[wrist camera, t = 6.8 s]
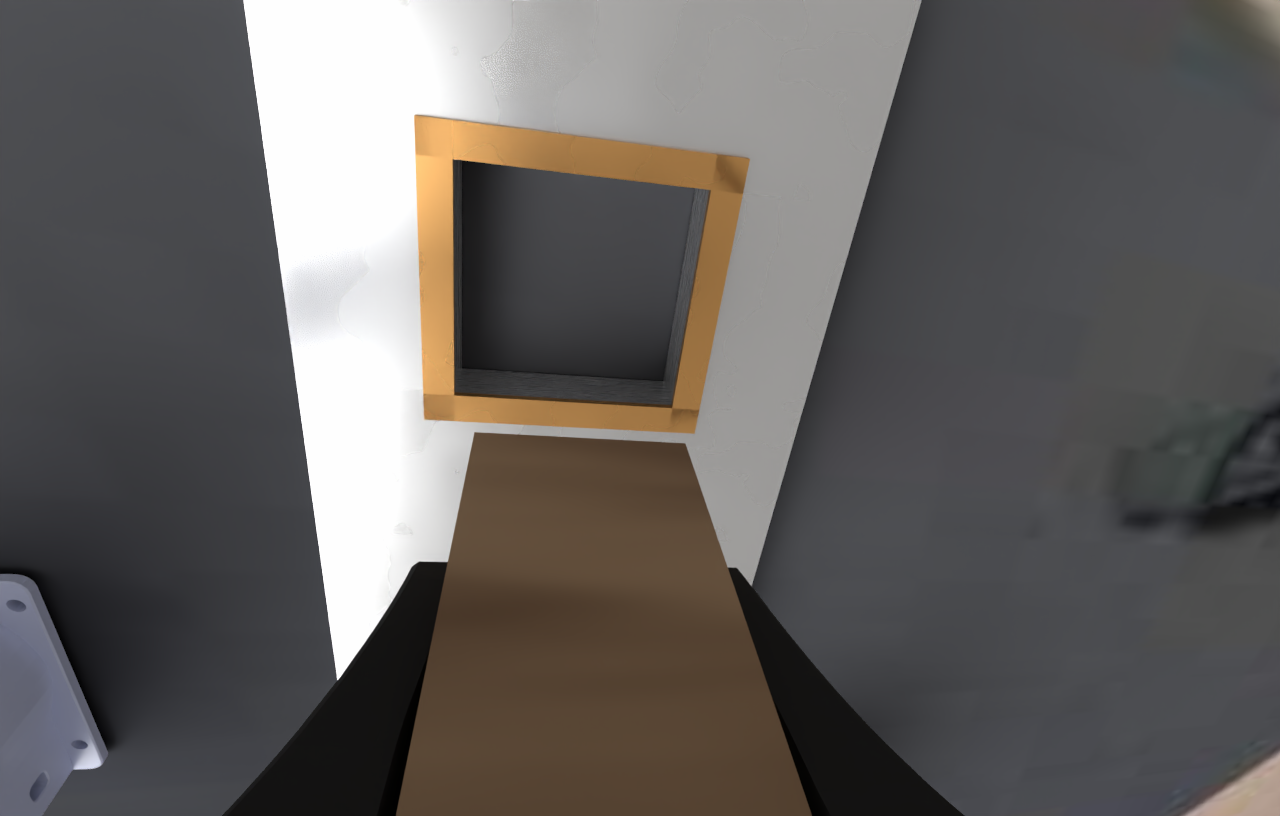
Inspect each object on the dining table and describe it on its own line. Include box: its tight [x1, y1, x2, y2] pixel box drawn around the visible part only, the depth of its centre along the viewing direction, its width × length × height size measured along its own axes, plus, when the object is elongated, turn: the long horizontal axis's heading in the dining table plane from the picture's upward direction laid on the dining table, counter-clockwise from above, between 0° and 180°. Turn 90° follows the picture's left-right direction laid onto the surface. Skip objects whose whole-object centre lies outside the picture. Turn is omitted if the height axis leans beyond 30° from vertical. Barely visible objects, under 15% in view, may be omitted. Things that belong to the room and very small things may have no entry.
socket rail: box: [244, 0, 922, 680], centre depth 19 cm, size 26×14×2 cm, turn 172°
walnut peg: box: [396, 432, 812, 816], centre depth 9 cm, size 4×4×8 cm
